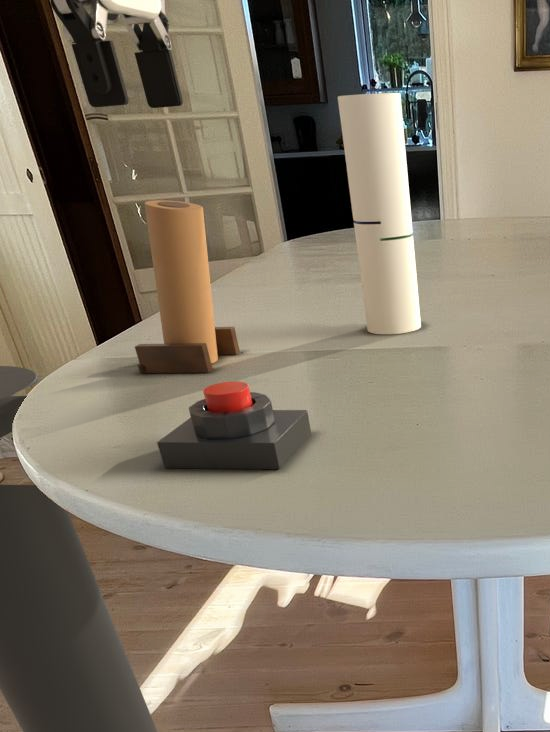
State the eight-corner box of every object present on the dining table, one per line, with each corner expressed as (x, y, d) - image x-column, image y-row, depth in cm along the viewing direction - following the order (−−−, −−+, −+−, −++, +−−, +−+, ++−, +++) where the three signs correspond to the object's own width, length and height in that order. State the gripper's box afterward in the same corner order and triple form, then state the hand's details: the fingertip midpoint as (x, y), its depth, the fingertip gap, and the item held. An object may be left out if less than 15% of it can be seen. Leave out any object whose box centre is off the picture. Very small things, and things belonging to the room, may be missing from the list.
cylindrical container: (377, 321, 102) (350, 97, 87) (427, 321, 100) (408, 93, 86) (360, 334, 96) (328, 96, 82) (412, 334, 95) (389, 92, 80)
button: (201, 416, 60) (195, 394, 59) (219, 402, 63) (214, 381, 62) (242, 416, 59) (237, 394, 58) (259, 402, 62) (255, 381, 61)
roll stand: (240, 352, 91) (234, 326, 90) (208, 373, 84) (201, 345, 82) (176, 352, 92) (169, 327, 91) (139, 373, 85) (131, 346, 83)
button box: (164, 468, 61) (149, 420, 58) (207, 433, 67) (195, 389, 65) (279, 469, 59) (269, 420, 57) (311, 434, 66) (303, 389, 63)
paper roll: (225, 355, 90) (212, 205, 81) (205, 369, 85) (187, 211, 76) (180, 348, 90) (161, 197, 81) (157, 361, 86) (133, 203, 76)
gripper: (81, -144, 61) (148, 110, 71) (-69, -220, 47) (39, 109, 57) (166, -155, 60) (221, 104, 70) (37, -237, 46) (129, 101, 56)
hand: (139, 106), depth 63 cm, fingers open, 9 cm apart
